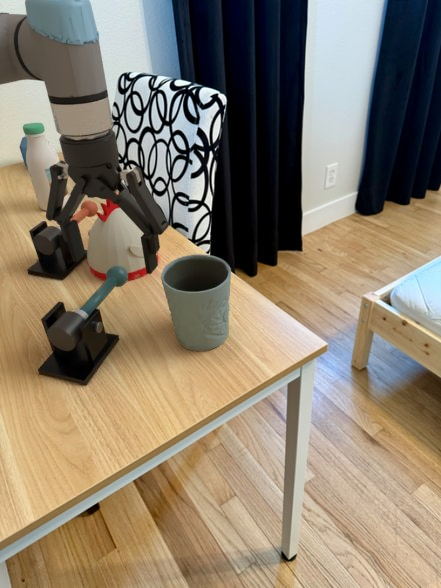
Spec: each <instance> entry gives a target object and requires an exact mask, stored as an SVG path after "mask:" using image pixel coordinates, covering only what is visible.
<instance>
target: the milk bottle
mask: <svg viewBox="0 0 441 588" xmlns="http://www.w3.org/2000/svg"><path fill="white" fill-rule="evenodd" d="M25 124H26V125H25ZM25 124H23V125H24V126H23V125H22V131H23V133H24V137H25V136H26V137H27V152H26V162H27V167H26V168H27V170H28V174H29V177H30V181H31V184H32V187H33V191H34V194H35V198H36V201H37V204H38V206H39V209H41V210H43V211H45V212H46V211H47V205H48V199H49V193H50V187H51V181H52V180H51V174H50V167H51V166H52V165H54V164H56V163H57V162H59V161H61V160H60V158H59V155H58V153H57V152H56V150H55V149H54V148H53V146H52V145H51V144H49V143H50V141H49V140H48V138H47V137H46V130H45V129H46V128H45V126H44V124H43V123H42V122H29V123H25ZM48 141H49V142H48ZM69 194H70V193H69V190H68V186H66V191H65V196H64V201H63V207H62V210H63V208H64V206H65V204H66V202H67V201H68V199H69V197H70V195H69Z"/></svg>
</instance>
